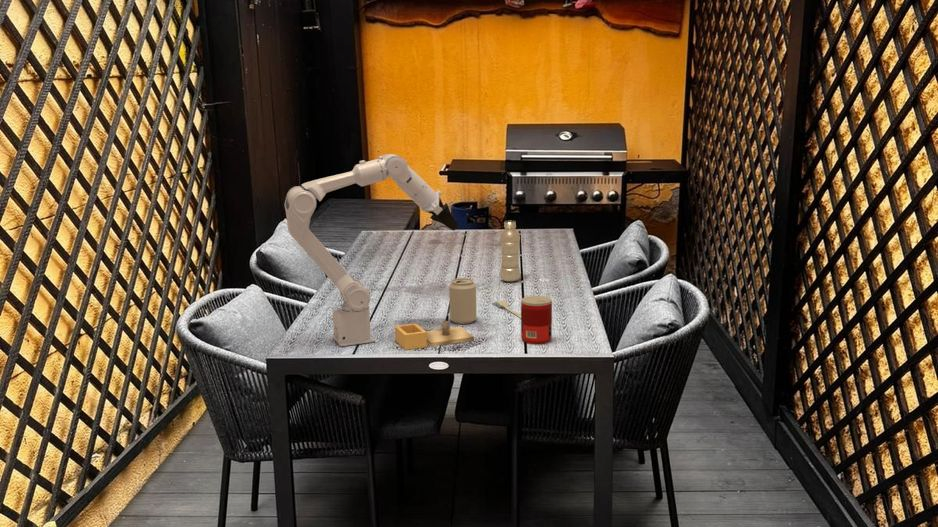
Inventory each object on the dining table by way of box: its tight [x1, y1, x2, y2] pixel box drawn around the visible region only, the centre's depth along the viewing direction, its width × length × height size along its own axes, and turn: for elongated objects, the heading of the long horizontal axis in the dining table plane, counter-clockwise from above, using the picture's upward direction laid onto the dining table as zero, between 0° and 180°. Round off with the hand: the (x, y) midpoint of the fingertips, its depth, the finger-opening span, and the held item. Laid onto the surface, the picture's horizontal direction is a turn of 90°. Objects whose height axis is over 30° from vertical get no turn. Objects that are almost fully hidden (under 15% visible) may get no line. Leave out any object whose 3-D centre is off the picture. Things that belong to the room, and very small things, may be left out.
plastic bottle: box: [499, 220, 521, 283], centre depth 289 cm, size 6×7×20 cm
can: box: [448, 277, 477, 325], centre depth 247 cm, size 8×8×12 cm
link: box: [394, 322, 428, 351], centre depth 229 cm, size 6×8×4 cm
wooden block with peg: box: [425, 320, 475, 348], centre depth 233 cm, size 12×10×4 cm
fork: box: [491, 300, 521, 320], centre depth 257 cm, size 3×21×3 cm, turn 27°
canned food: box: [520, 295, 553, 345], centre depth 230 cm, size 8×8×11 cm
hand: (452, 224), depth 235 cm, fingers open, 7 cm apart
